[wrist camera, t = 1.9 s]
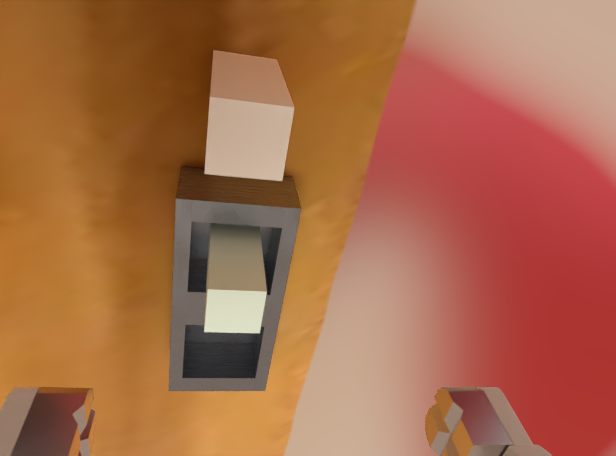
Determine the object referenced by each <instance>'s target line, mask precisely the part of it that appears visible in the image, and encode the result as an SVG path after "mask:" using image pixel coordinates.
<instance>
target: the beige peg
mask: <svg viewBox="0 0 616 456" xmlns="http://www.w3.org/2000/svg"><path fill="white" fill-rule="evenodd" d="M266 294H267V288H266V279H265V270H264V261H263V252H262V243H261V234H260V226H248V225H234V224H220V223H210V231H209V243H208V261H207V282H206V303H205V323H204V332H220V333H260V329H261V323H262V317H263V312H264V306H265V300H266Z"/></svg>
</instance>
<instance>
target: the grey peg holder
mask: <svg viewBox="0 0 616 456" xmlns="http://www.w3.org/2000/svg"><path fill="white" fill-rule="evenodd" d="M204 172H205V169H203V168H193V167H182V166H181V172H180V178H179V183H178V189H177V195H176V210H175V236H174V262H173V289H172V315H171V341H170V367H169V391H265V389H266V384H267V379H268V374H269V369H270V364H271V358H272V353H273V348H274V343H275V338H276V333H277V328H278V323H279V318H280V313H281V308H282V303H283V298H284V293H285V288H286V283H287V278H288V273H289V268H290V263H291V258H292V253H293V248H294V243H295V238H296V233H297V228H298V223H299V218H300V213H301V206H300V202H299V198H298V194H297V191H296V187H295V183H294V179H293V177H286V176H283V179H282V181H274V180H263V179H252V178H242V177H231V176H220V175H209V174H204ZM210 223H220V224H234V225H248V226H260V234H261V243H262V252H263V261H264V270H265V279H266V288H267V294H266V300H265V306H264V312H263V317H262V323H261V329H260V333H220V332H204V323H205V303H206V282H207V261H208V243H209V231H210Z"/></svg>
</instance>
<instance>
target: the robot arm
mask: <svg viewBox="0 0 616 456" xmlns="http://www.w3.org/2000/svg"><path fill="white" fill-rule="evenodd" d="M435 399H436V401H437V403H436V404H435V405H434V406H432V407H431V408H430V409H429V410H428V413H427V415H426V421H425V430H426V435H427V439H428V442H429V445H430V447H431V448H432V449H433V450H434V451H435V452H436V453H437V454H438V455H439V456H552V455H551V454H550V453H548V452H547V451H546V450H545V449H543V448H542V447H541V446H539V445H533V443H532V442H531V440H530V439H529V436H528V435H527V433H526V431H525V430H524V428H523V426H522V425H521V423H520V421H519V419H518V418H517V416H516V414H515V413H514V411H513V409H512V408H511V406H510V404H509V402H508V401H507V399H506V397H505V395H504V394H503V392H502V391H501V390H500V389H499V388H497V387H479V388H477V387H442V388H441V389H439V390H438V391H437V393H436V395H435ZM93 400H94V395H93V388H60V387H14V388H13V389H12V391H11V392H10V393H9V394H8V396H7V398H6V400H5V402H4V405H3V407H2V409H1V411H0V456H90V455H91V451H92V447H93V442H94V436H95V429H96V415H95V411H94V410H92V409H91V407H92V404H93Z"/></svg>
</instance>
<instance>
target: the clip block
mask: <svg viewBox="0 0 616 456" xmlns="http://www.w3.org/2000/svg"><path fill="white" fill-rule="evenodd" d="M294 108H295V107H294V105H293V102H292V99H291V96H290V94H289V91H288V88H287V85H286V83H285V80H284V77H283V74H282V72H281V69H280V66H279V63H278V61H277V59H271V58H265V57H258V56H251V55H245V54H238V53H231V52H225V51H218V50H213V62H212V75H211V89H210V102H209V116H208V130H207V144H206V158H205V172H204V174H209V175H220V176H231V177H242V178H252V179H263V180H274V181H282V179H283V173H284V168H285V162H286V156H287V150H288V144H289V138H290V132H291V126H292V120H293V114H294Z"/></svg>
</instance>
